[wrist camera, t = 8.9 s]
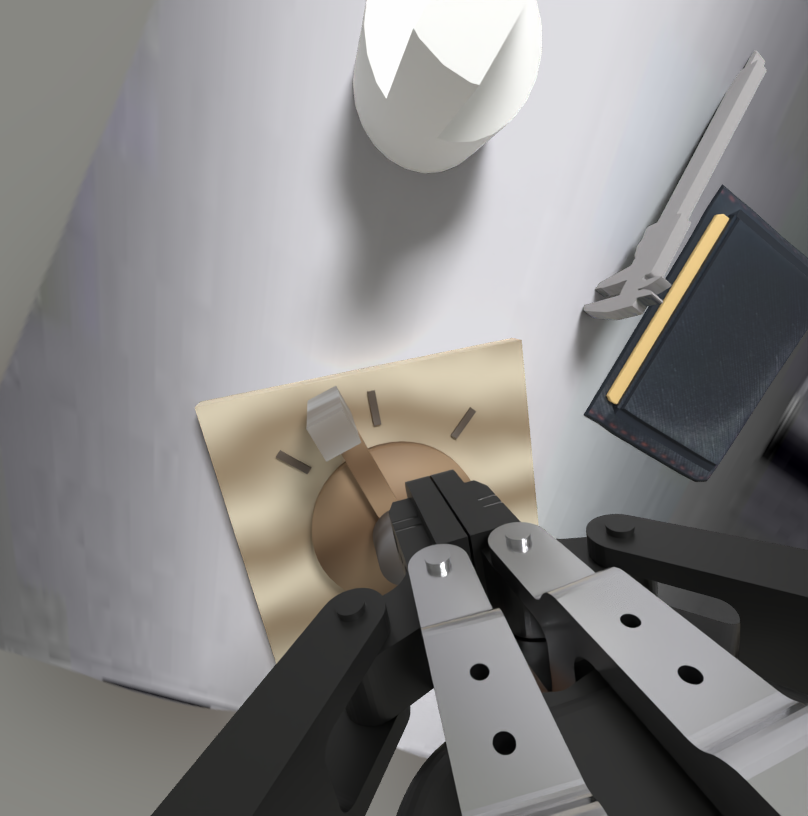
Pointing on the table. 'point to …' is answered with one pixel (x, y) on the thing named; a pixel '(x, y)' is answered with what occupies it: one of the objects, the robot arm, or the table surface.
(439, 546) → the robot arm
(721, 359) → the dark grey flat block
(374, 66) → the cylinder with rectangular tab
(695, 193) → the caliper
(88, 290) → the table surface
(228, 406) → the dial board
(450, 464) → the dial
